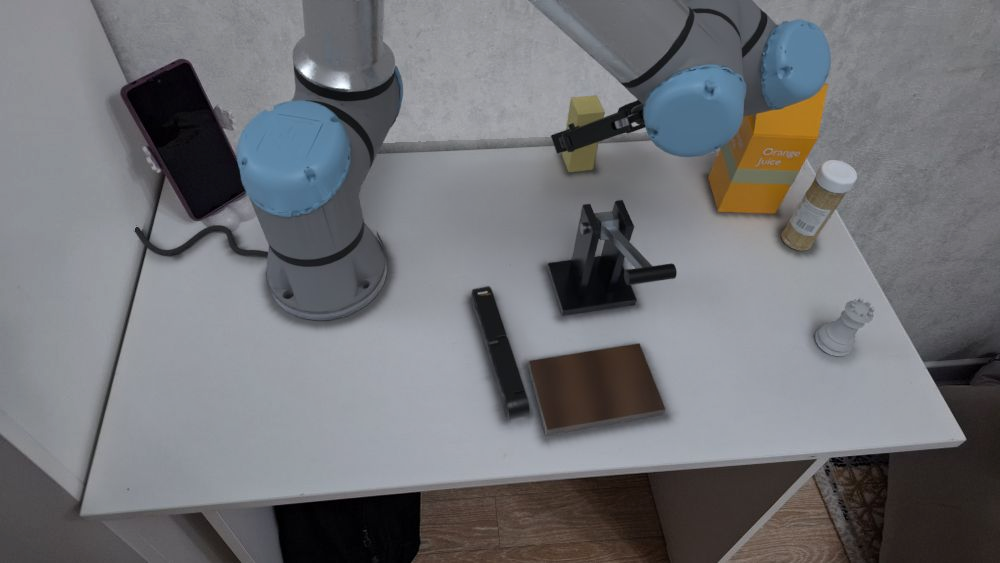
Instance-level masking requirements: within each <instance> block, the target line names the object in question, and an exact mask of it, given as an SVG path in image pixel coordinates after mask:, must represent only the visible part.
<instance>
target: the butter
mask: <svg viewBox="0 0 1000 563" xmlns="http://www.w3.org/2000/svg"><path fill="white" fill-rule="evenodd" d="M569 101H570V102H569V107H568V113H567V120H566V127H565V130H567V129H569V127H568V125H569V124H572V123H574V126H575V127H576V126H579V127H580V126H583V125H586V124H588V123H591V122H593V121H596V120H599V119H601V118H604V117H605V114H606V111H605V109H604V107H603V105H602V102H601V100H600V99H599V97H598V95H586V96H585V95H584V96H573V97H570V100H569ZM599 142H600V141H599ZM599 142H596V143H593V144H591V145H588V146H585V147H582V148H579V149H576V150H574V151H573V152H568V151H565V152H561V157H562V159H563V162H564V165H565V167H566V169H567V172H568V173H576V172H585V171H593V170H594V166H595V161H596V157H597V152H598V148H599Z"/></svg>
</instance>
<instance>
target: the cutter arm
mask: <svg viewBox="0 0 1000 563" xmlns="http://www.w3.org/2000/svg"><path fill="white" fill-rule="evenodd" d="M594 214H595V216H596V219H597V221H598V224H599V226H600V229H601V234H600V238H599V241H605V240H609V239H610V240H611V242H612V243H613V244H614V245H615V246H616V247H617V248H618V249H619V251H620V252H621V253H622V254H623V255H624V256H625V259H626V260H627V261H628V262H629V263H630V264H631V266H633V268H629V269H624V270H625V272H624V279H625V282H626V284H627V285H631V286H633V285H640V284H647V283H654V282H660V281H667V280H674V279H676V277H677V274H678V271H677V267H676V265H675V264H674V263H664V264H657V265H652V264H651V262H649V260H647V259H646V258H645V257H644V255H643V254H642V253H641V252H640V251H639V250H638V249H637V247H635V246H634V244H632V243H631V241H630V242H629V241H628V240H627V239H626V238H625V237H624V235H623V234H622V233H621V232H620V231H619V219H618V218H617V217H616V216H615V215H614V214H613V213H612V210H611V211H602V212H601V211H600V212H594Z"/></svg>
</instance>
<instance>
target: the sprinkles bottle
mask: <svg viewBox="0 0 1000 563" xmlns="http://www.w3.org/2000/svg"><path fill="white" fill-rule="evenodd" d="M857 180H858V172H857V171H856V169H855V168H854V167H853V166H852V165H850V164H848V163H847V162H845V161H843V160H842V161H841V160H837V159H830V160H825V161H824V162H822V164H821V165H820V167H819V168H818V170H817V171H816V173H815V175H814V180H813V181H812V183H811V184H810V186H809V188H808V189H807V190H806V192H805V194H804V195H803V197H802V199H801V200H800V202H799V203H798V205H797V207H796V209H795V210H794V212H793V214H792V215H791V217H790V220H789V221H788V223H787V225H786V226H785V228H783V229H782V231H781V233H780V236H781V240H782V241H783V242H784V244H785V245H786V246H787V247H789V248H790V249H793V250H796V251H801V252H802V251H808V250H810V249H811V248H812V247H813V246H814V244H815V241H816V240H817V238H818V237H819V235H820V234H821V233H822V232H823V231H824V228H825V227H826V226H827V224H828V222H829V221H830V220H831V219H832V216H833V214H834V212H836V209H837V208H838V206H839V205H840V203H841V202H842V200H843V199H844V198H845V196H846V194H847V193H849V191H850V190H852V188H853V187H854V185H855V183H856V181H857Z"/></svg>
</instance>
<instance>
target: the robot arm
mask: <svg viewBox="0 0 1000 563" xmlns="http://www.w3.org/2000/svg"><path fill="white" fill-rule="evenodd" d="M527 1H528V2H529V3H530V4H531V5H532V6H534V7H535V8H536V9H537V10H538V11H539V12H540V13H541V14H542V15H543V16H544V17H546V18H547V19H548V20H549V21H550V22H551V23H553V24H554V25H555V27H557V28H558V29H559V30H561V32H563V33H564V34H565V35H566V36H567V37H568V38H570V39H571V40H572V42H574V43H575V44H576V45H577V46H578V47H580V48H581V49H582V50H583V51H584V52H585V53H586V54H587V55H588V56H590V57H591V58H592V59H593V60H594V61H595V62H596V63H598V64H599V65H600V66H601V67H602V68H603V69H605V70H606V71H607V72H608V73H609V74H610V75H611V76H612V77H614V79H616V80H617V81H618V82H619V83H620V84H621V85H622V86H623V87H624V88H625V90H627V91H628V92H629V94H631V95H632V96H633V97H634V98H635V99H637V100H635V101H631V102H629V103H626V104H623V105H621V106H620V107H618V109H617V112H615V113H612V114H610V115H607V116H604V118H601V119H599V120H596V121H593V122H591V123H588V124H586V125H583V126H580V127H579V126H576V127H575V126H574V123H572V124H569V125H568V127H569V129H567V130H566V129H565V130H561V131H559V132H555V133H553V134H551V135H550V138H551V141H552V143H553V145H554V149H555V151H556V154H562V152H565V151H568V152H573V151H574V150H576V149H579V148H582V147H585V146H588V145H591V144H593V143H596V142H602V141H605V140H608V139H612V138H614V137H617V136H620V135H623V134H630V133H634V132H636V131H639V130H642V129H645V131H646V133H647V135H648V137H649V139H650V141H651V142H652V143H653V145H654V146H656V147H657V148H658V149H659V150H661V151H663V152H664V153H666V154H669V155H673V156H675V157H680V158H697V157H703V156H706V155H710V154H712V153H714V152H716V151H719V150H720V148H722V147H723V146H724V145H726V144H727V143H728V142H729V141H730V140H731V139H732V138H733V137H734V136H735V135H736V133H737V132H738V130H739V128H740V126H741V123H742V120H743V117H745V116H749V115H753V114H758V113H762V112H767V111H771V110H780V109H783V108H784V107H787V106H790V105H793V104H796V103H799V102H801V101H804V100H807V99H809V98H811V97H813V96H814V95H816V94H817V93H818V92H819V91H820V90H821V88H822V87H823V85H824V84H826V81H827V79H828V77H829V75H830V72H831V65H832V55H831V48H830V45H829V42H828V39H827V37H826V35H825V33H824V31H823V30H822V28H820V27H819V25H817V24H816V23H814V22H811V21H808V20H805V19H802V18H799V19H798V18H797V19H793V20H789V21H788V20H784V21H782V22H781V23H779V24H777V23H776V22H775V21H774V20H773V19H772V18H771V17H770V16H769V15H768V14H767V13H766V12H765V11H764V10H762V8H760V7H759V5H757V3H756V2H755V1H754V0H527ZM301 4H302V17H303V29H304V36H302V37H301V38H300V39H298V41H297V42H296V43H295V45H294V46H293V49H292V64H293V76H294V86H295V88H294V93H293V94H294V95H293V97H292V99H291V100H288V101H284V102H280V103H276V104H273V110H266V109H264V110H262V111H260V112H259V113H257V114H256V115H255V116H254V117H252V119H251V120H249V121H248V123H247V124H246V125H245V126H244V128H243V130H242V132H241V133H240V135H239V137H238V141H237V143H236V144H237V145H236V161H237V166H238V169H239V175H240V181H241V183H242V186H243V189H244V191H245V193H246V195H247V196H248V198H249V201H250V202H251V205H252V208H253V210H254V213H255V215H256V218H257V220H258V222H259V224H260V227H261V229H262V232H263V234H264V237H265V240H266V241H267V244H268V249H267V250H268V251H267V250H259V249H242V248H240V247H238V246H237V244H236V242H235V238H234V235H233V233H232V231H231V229H230V228H228V227H227V226H225V225H221V224H217V225H216V224H214V225H209V226H207V227H205V228H203V229H201V230H200V231H198V232H197V233H196V234H194V235H193V236H192V237H191V238H189V239H188V240H187V241H186V242H184V243H183V244H181V245H179V246H177V247H175V248H172V249H164V248H163V249H162V248H159V247H157V246H155V244H152V242H151V241H150V240H149V239H148V237H146V235H145V234H144V232H143V231H142V229H141V228H140V227H139V226H138V227H136V228H135V231H134V233H135V234H136V236H137V237H138V238H139V240H140V241H141V243H142V244H143V245H144V246H145V247H146V248H147V249H149V251H151V252H153V253H155V254H157V255H160V256H174V255H177V254H180V253H181V252H182V253H183V252H185V251H186V250H187V249H189V248H190V247H191V246H193V245H194V244H195V243H197V242H198V241H200V239H201V238H203V237H205V236H206V235H207V234H209V233H212V232H223V233H224V234H225V235H226V238H227V242H228V245H229V247H230V249H231V250H232V251H233V252H234V253H236V254H238V255H240V256H255V257H264V258H267V262H266V270H265V274H266V275H265V276H266V277H265V278H266V282H267V285H268V287H269V290H270V292H271V294H272V297H273V298H274V300H275V301H276V303H277V304H278V305H279V307H281V308H282V309H283V310H284V311H286V312H288V313H289V314H290V315H293V316H296V317H298V318H301V319H305V320H310V321H331V320H338V319H340V318H344V317H347V316H350V315H352V314H355V313H356V312H358V311H360V310H361V309H363V308H365V307H366V306H367V305H368V304H370V303H371V302H372V301H373V300H374V299H375V298H376V297H377V296H378V294H379V293H380V291H381V290H382V288H383V286H384V284H385V281H386V278H387V272H388V271H387V270H388V268H387V267H388V266H387V265H388V264H387V259H386V254H385V253H387V249H386V246H385V244H384V242H383V240H382V238H381V236H380V234H379V232H378V230H376V231H375V232H376V235H377V237H376V235H375V234H374V233H373V231H372V230H371V229H370V227H369V225H367V224H366V222H365V221H364V215H363V211H362V210H363V209H362V205H361V200H360V199H361V198H360V193H361V188H362V186H363V184H364V182H365V179H366V178H367V176H368V174H369V172H370V170H371V168H372V166H373V164H374V162H375V160H376V157H377V156H378V153H379V151H380V150H381V147H382V146H383V144H384V142H385V139H386V138H387V136H388V134H389V132H390V130H391V128H392V127H393V126H394V125H395V123H396V121H397V118H398V117H399V114H400V112H401V107H402V102H403V98H404V83H403V78H402V75H401V72H400V70H399V67H398V66H397V65H396V58H395V55H394V52H393V50H392V49H391V47H390V46H389V45H388V44H387V43H386V42H385V41H384V26H385V25H384V24H385V23H384V22H385V0H301ZM634 123H635V124H637V125H634V126H633V124H634Z"/></svg>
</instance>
